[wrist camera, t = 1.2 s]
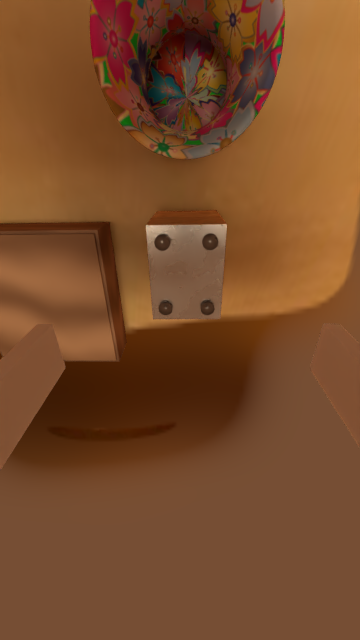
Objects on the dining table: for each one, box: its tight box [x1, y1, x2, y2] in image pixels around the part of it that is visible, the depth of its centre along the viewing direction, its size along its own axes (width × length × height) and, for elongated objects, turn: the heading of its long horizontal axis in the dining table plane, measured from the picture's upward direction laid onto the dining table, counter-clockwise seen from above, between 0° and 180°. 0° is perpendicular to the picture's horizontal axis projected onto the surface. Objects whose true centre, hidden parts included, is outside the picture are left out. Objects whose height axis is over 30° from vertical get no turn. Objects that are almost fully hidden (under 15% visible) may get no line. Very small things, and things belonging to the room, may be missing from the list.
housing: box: [146, 210, 227, 319], centre depth 24 cm, size 8×6×8 cm
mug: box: [90, 0, 285, 159], centre depth 16 cm, size 12×9×11 cm
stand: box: [0, 222, 126, 361], centre depth 29 cm, size 15×14×4 cm
